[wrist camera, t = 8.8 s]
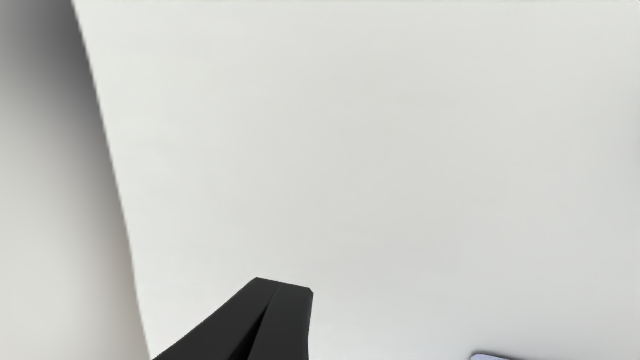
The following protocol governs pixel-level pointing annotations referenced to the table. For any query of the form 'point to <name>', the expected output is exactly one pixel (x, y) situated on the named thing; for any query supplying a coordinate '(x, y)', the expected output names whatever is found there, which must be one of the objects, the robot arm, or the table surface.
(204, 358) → the robot arm
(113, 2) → the table surface
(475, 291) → the table surface
